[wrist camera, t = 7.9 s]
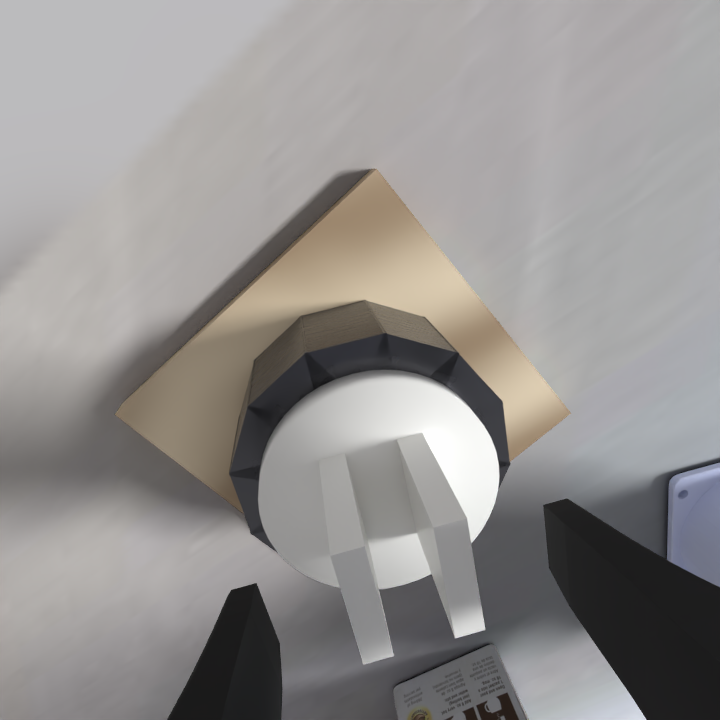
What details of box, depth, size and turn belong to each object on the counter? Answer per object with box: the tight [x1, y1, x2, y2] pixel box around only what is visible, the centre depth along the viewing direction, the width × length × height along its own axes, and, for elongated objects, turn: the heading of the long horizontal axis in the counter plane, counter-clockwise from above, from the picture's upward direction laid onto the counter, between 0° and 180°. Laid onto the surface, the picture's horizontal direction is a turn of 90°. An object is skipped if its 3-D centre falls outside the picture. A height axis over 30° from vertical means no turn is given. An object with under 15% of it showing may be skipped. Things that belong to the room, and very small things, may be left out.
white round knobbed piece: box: [258, 370, 499, 665], centre depth 15 cm, size 8×8×6 cm
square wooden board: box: [115, 169, 571, 514], centre depth 21 cm, size 13×13×1 cm
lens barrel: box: [229, 300, 510, 553], centre depth 18 cm, size 9×9×4 cm
